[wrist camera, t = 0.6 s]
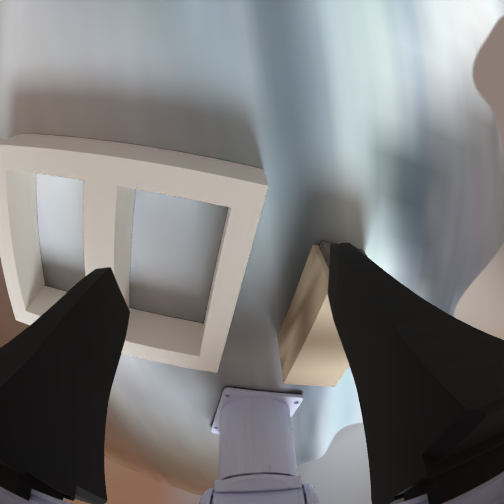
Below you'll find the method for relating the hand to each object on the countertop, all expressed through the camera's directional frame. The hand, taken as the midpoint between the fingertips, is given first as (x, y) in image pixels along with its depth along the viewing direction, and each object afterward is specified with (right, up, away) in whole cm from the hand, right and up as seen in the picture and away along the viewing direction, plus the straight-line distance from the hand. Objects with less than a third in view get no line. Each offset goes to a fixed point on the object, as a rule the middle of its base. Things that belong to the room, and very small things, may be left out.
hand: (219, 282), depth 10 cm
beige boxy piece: (+6, -2, +13) cm, 14 cm away
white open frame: (-8, +2, +10) cm, 13 cm away
